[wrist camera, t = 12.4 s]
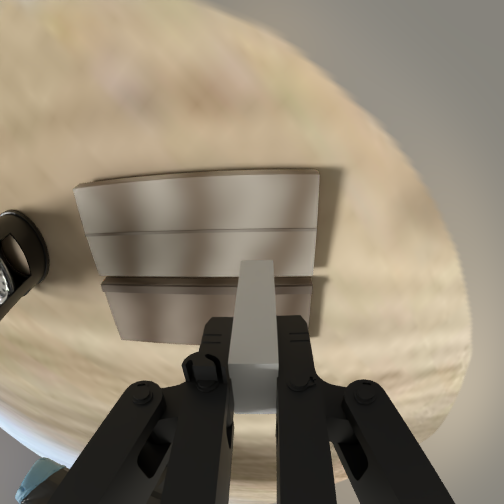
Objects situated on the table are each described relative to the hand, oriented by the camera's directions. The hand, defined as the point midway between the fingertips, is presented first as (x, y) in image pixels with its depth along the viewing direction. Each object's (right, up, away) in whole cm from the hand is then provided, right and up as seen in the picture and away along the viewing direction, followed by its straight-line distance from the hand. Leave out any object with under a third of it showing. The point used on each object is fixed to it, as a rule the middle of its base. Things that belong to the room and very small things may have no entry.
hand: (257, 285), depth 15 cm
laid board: (-5, -4, +15) cm, 16 cm away
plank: (-5, +4, +11) cm, 12 cm away
